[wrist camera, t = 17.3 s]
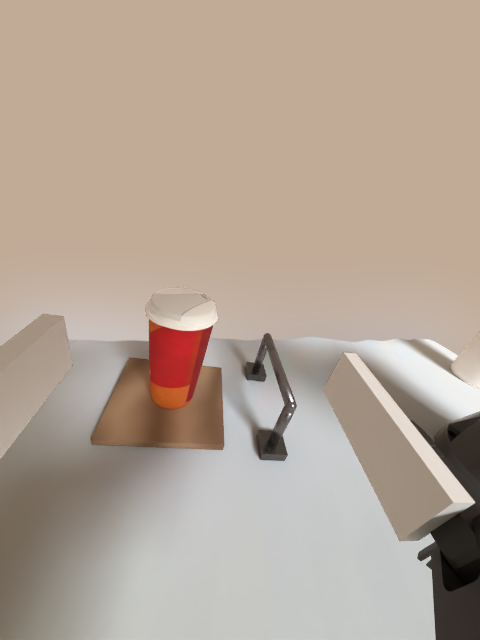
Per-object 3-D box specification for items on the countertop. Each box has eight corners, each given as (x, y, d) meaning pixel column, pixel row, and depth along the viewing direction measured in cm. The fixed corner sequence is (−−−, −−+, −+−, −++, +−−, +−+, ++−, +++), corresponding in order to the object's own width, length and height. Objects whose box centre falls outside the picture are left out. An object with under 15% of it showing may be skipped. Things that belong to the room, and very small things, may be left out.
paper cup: (180, 365, 36) (192, 282, 30) (212, 398, 32) (234, 309, 26) (129, 387, 31) (130, 290, 24) (161, 429, 27) (172, 326, 20)
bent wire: (261, 369, 42) (275, 330, 38) (284, 460, 28) (310, 414, 24) (245, 367, 41) (257, 327, 37) (260, 459, 28) (283, 412, 24)
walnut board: (220, 372, 39) (221, 367, 38) (222, 449, 27) (224, 444, 27) (129, 362, 36) (129, 357, 35) (92, 444, 25) (91, 438, 24)
